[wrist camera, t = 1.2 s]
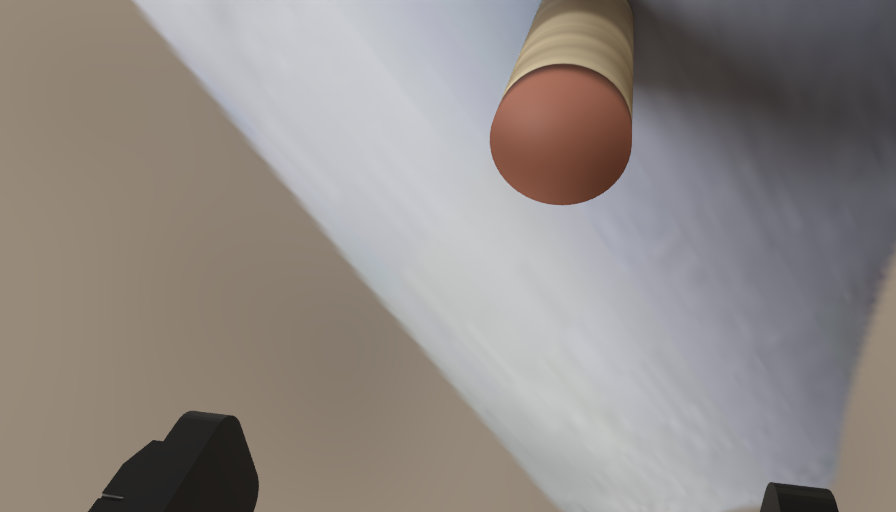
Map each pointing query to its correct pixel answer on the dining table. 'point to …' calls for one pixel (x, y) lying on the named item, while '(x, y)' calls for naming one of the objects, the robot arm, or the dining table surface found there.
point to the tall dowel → (568, 103)
